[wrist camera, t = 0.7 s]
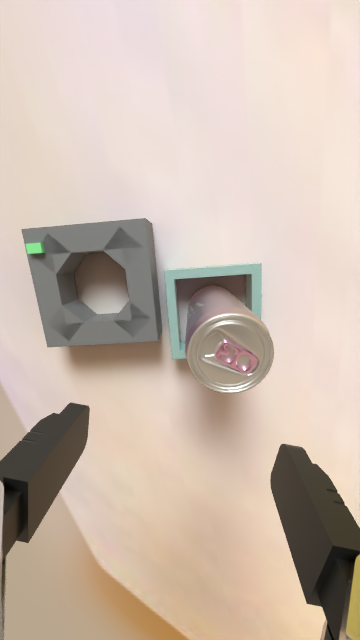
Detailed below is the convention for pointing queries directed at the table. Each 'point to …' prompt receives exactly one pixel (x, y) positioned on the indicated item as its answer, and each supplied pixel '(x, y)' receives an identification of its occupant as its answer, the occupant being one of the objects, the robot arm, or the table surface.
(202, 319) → the beverage can
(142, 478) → the table surface
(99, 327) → the port
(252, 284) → the teal square frame
